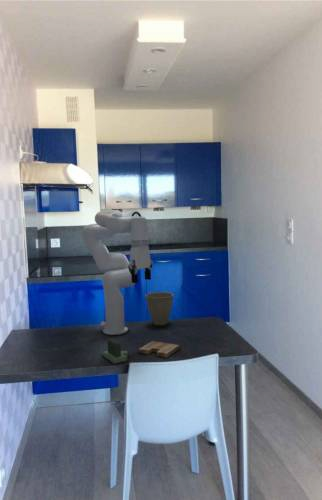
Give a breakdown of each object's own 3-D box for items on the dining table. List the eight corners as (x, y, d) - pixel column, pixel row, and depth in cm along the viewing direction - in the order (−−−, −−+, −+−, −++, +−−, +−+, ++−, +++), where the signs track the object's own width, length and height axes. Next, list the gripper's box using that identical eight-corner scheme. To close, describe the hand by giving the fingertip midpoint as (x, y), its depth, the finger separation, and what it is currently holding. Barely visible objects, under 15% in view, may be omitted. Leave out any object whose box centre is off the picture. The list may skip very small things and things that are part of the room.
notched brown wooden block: (138, 352, 198) (138, 348, 198) (152, 344, 209) (152, 341, 209) (166, 357, 192) (166, 353, 191) (179, 349, 202) (179, 345, 202)
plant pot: (179, 322, 244) (179, 294, 242) (161, 329, 233) (160, 299, 231) (159, 318, 254) (158, 290, 252) (140, 324, 243) (139, 295, 241)
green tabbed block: (102, 355, 196) (101, 338, 195) (121, 351, 201) (120, 335, 200) (114, 363, 186) (113, 346, 185) (133, 359, 191) (132, 342, 190)
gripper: (144, 242, 214) (146, 277, 216) (121, 245, 200) (122, 283, 202) (157, 242, 209) (159, 278, 211) (134, 246, 196) (136, 284, 197)
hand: (141, 281), depth 206 cm, fingers open, 9 cm apart
